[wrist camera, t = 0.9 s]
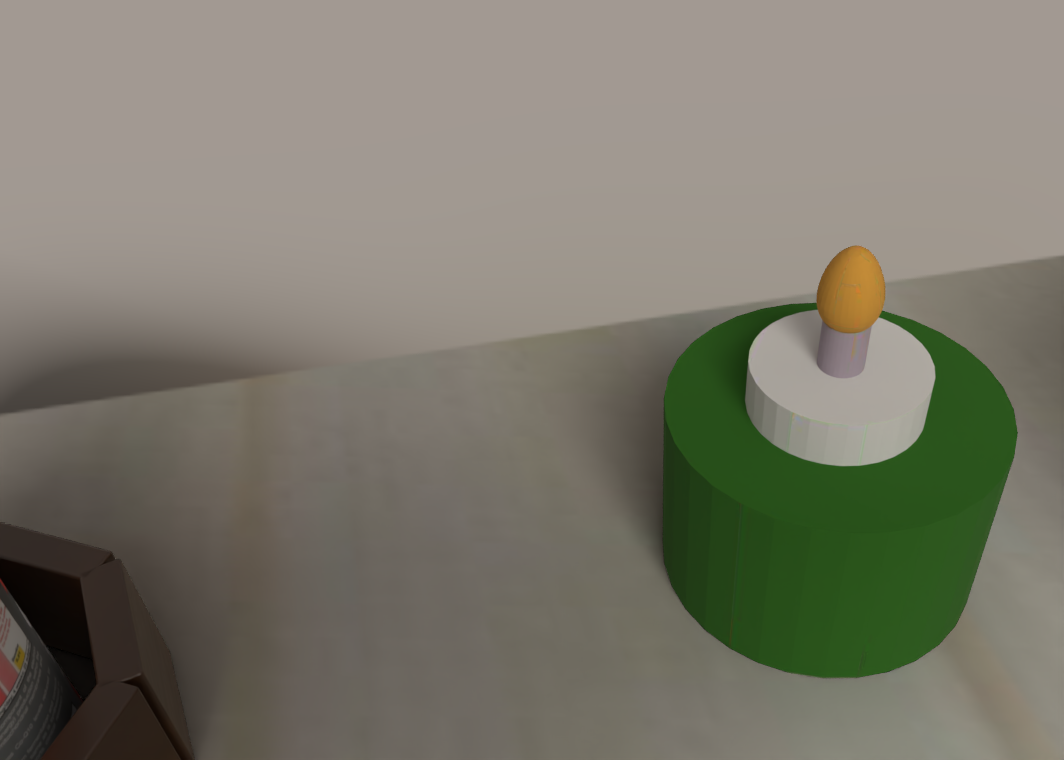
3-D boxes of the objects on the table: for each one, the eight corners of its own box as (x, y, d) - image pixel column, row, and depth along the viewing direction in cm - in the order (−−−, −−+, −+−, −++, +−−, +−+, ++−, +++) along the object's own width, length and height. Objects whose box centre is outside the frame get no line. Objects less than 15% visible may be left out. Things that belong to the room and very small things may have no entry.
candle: (878, 740, 24) (961, 435, 17) (603, 569, 28) (588, 275, 22) (1020, 528, 28) (1129, 222, 22) (762, 409, 33) (790, 125, 26)
